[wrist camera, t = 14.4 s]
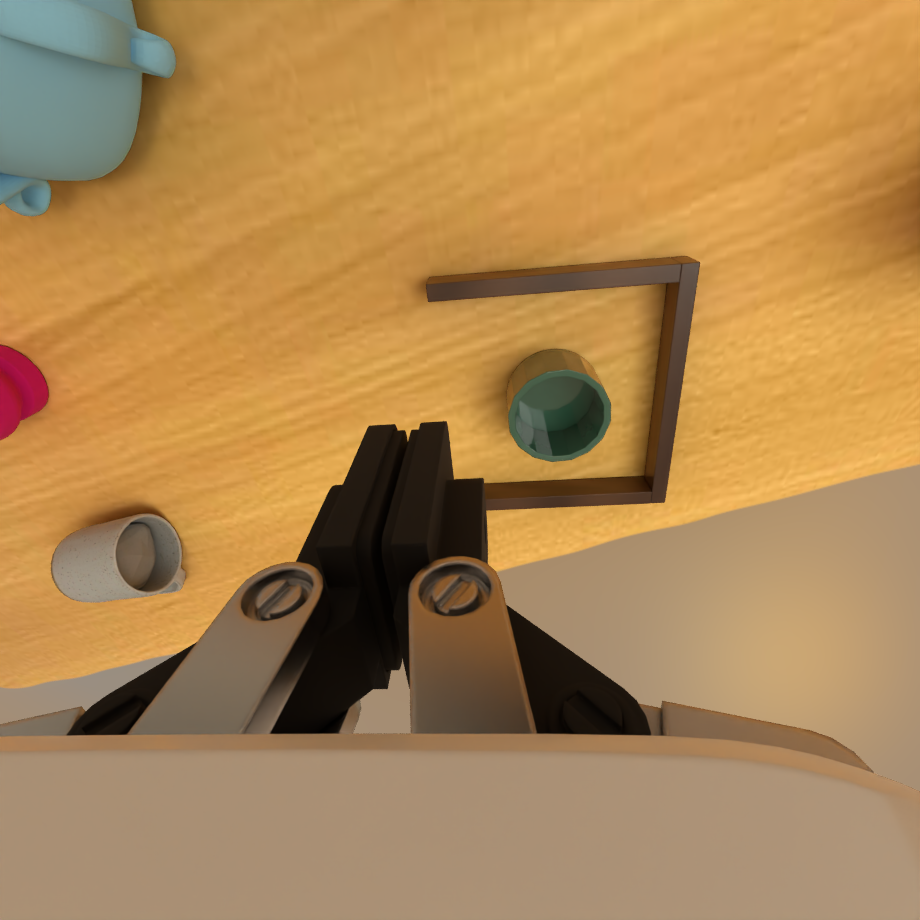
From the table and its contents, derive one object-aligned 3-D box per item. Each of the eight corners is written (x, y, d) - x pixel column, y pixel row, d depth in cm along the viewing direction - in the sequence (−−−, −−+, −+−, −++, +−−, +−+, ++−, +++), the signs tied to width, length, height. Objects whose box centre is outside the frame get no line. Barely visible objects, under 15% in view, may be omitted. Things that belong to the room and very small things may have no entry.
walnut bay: (454, 495, 47) (452, 512, 44) (429, 276, 37) (425, 284, 35) (656, 486, 45) (665, 502, 43) (687, 255, 35) (700, 262, 33)
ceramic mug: (81, 514, 50) (20, 570, 43) (151, 496, 48) (99, 551, 41) (147, 589, 55) (101, 649, 48) (211, 574, 53) (174, 634, 47)
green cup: (488, 400, 41) (488, 425, 38) (549, 329, 38) (556, 349, 34) (555, 448, 44) (562, 477, 40) (618, 385, 40) (632, 410, 36)
